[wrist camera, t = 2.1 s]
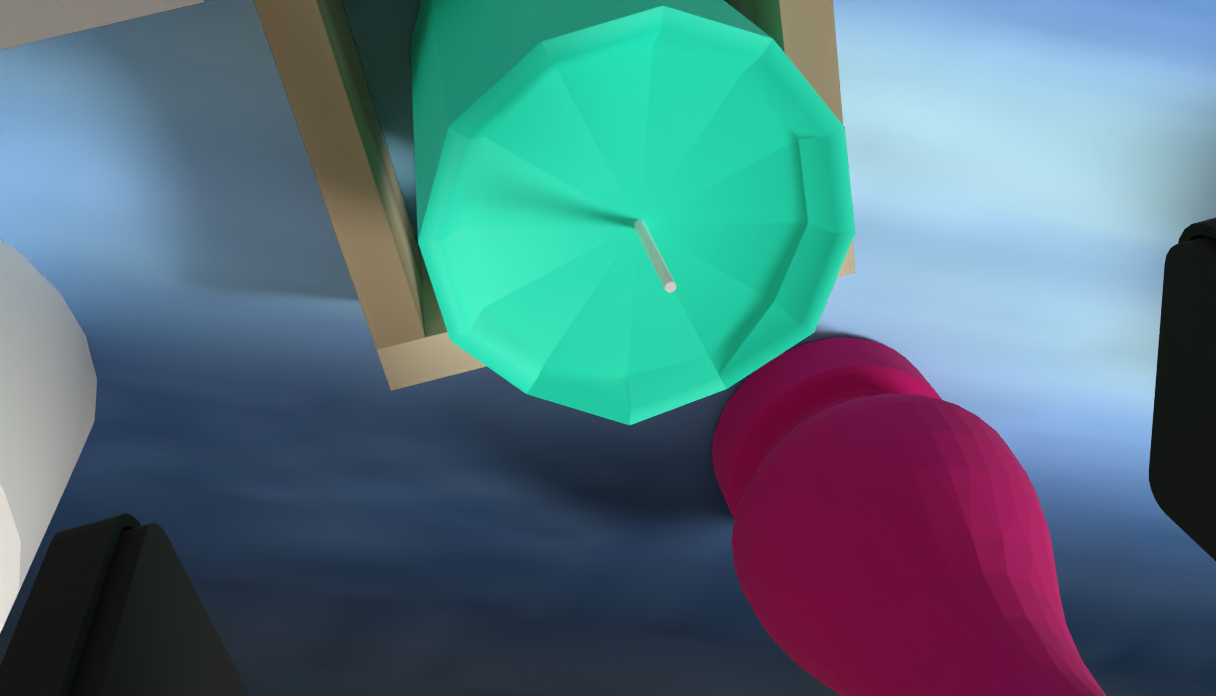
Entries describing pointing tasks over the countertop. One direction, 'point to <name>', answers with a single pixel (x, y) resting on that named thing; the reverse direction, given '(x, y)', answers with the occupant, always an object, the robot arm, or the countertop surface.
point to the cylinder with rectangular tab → (36, 411)
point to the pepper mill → (889, 532)
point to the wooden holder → (70, 16)
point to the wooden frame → (367, 184)
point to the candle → (622, 195)
